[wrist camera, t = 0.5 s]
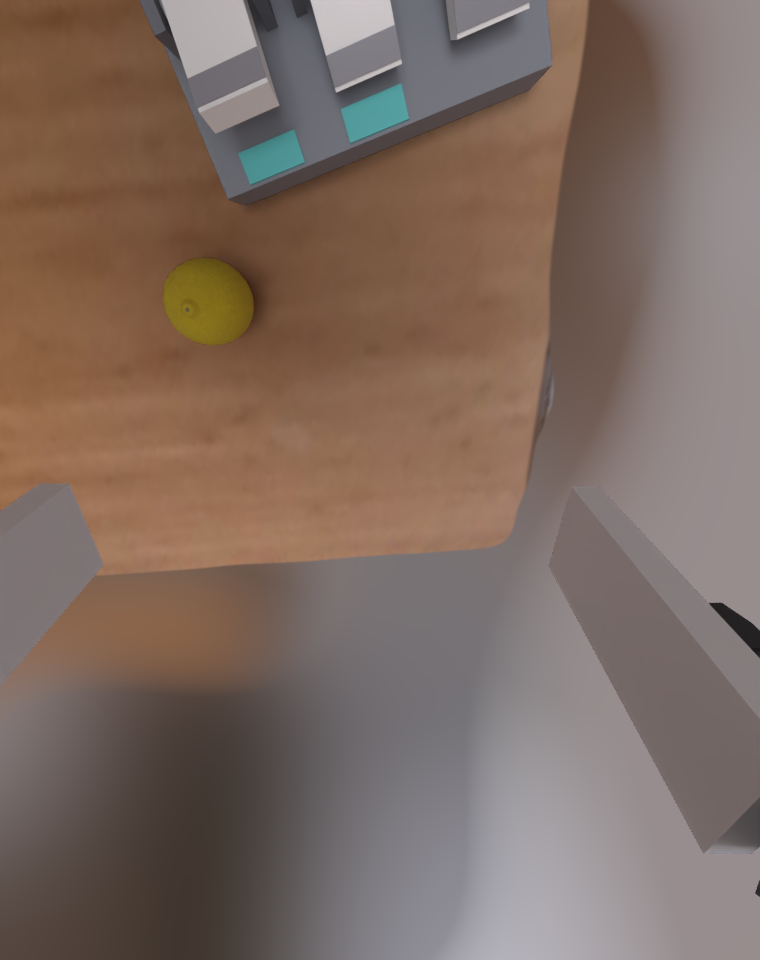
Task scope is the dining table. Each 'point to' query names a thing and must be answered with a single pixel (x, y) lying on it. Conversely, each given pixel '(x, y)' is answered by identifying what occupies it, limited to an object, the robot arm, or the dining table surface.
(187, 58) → the rocker
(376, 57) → the rocker
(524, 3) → the rocker
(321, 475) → the dining table surface
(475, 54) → the console
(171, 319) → the lemon
